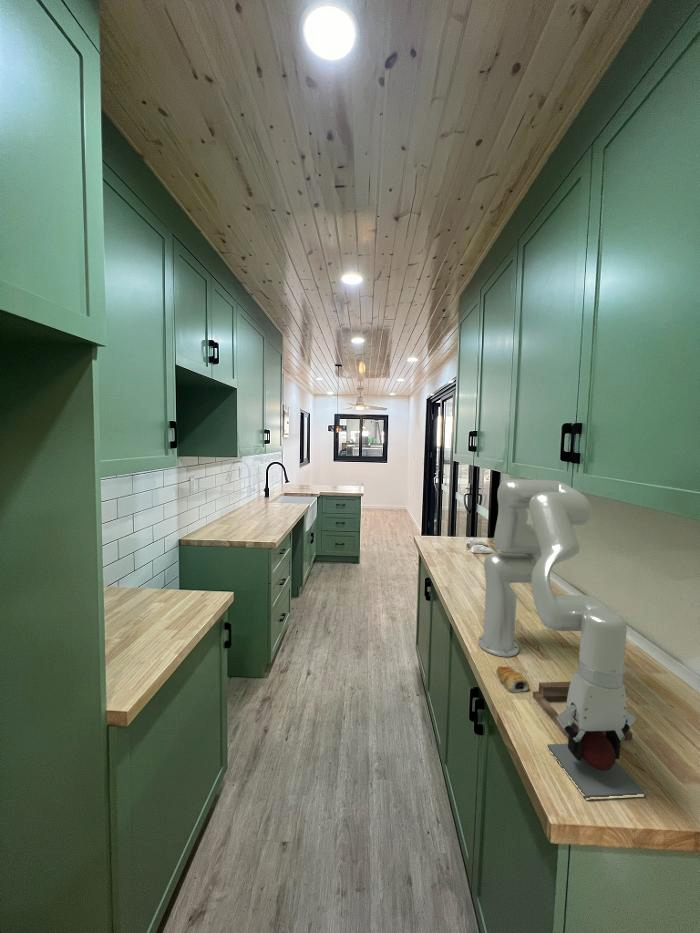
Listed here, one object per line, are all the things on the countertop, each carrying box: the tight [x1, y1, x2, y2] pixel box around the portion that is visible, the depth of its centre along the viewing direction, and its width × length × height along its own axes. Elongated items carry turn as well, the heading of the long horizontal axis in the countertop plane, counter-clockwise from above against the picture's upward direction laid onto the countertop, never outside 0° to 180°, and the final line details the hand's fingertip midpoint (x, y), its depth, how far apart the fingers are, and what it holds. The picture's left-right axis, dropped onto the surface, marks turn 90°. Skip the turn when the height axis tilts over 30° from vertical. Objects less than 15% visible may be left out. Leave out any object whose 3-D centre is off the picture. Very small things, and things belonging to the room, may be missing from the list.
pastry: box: [496, 666, 530, 694], centre depth 106 cm, size 9×7×4 cm
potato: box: [574, 726, 617, 771], centre depth 77 cm, size 8×9×6 cm
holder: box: [532, 681, 634, 741], centre depth 93 cm, size 15×15×4 cm
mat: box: [547, 743, 646, 798], centre depth 77 cm, size 12×12×1 cm
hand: (593, 753), depth 77 cm, fingers closed on potato, 7 cm apart
